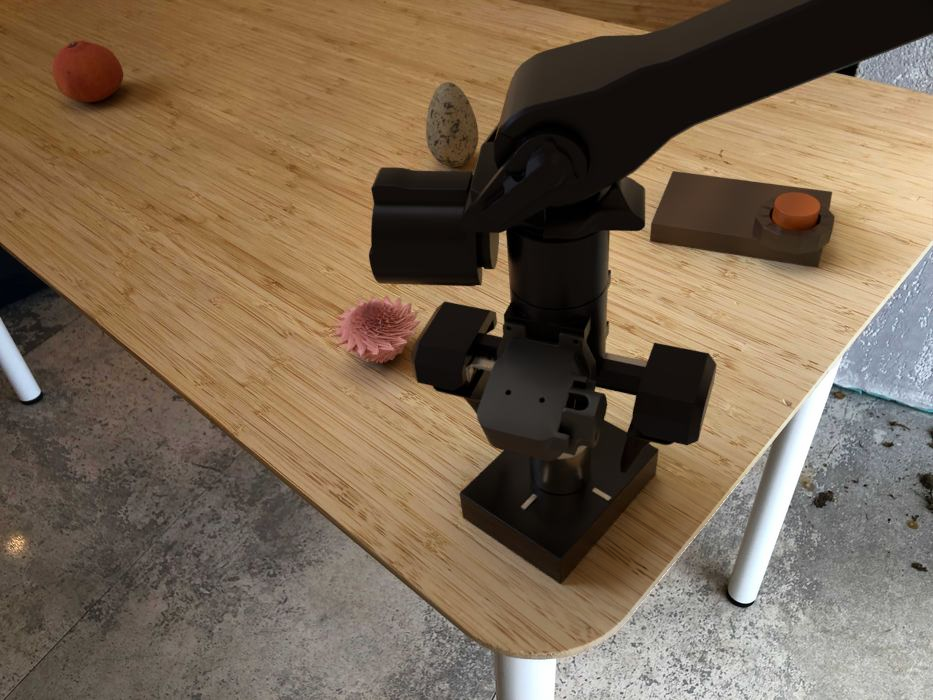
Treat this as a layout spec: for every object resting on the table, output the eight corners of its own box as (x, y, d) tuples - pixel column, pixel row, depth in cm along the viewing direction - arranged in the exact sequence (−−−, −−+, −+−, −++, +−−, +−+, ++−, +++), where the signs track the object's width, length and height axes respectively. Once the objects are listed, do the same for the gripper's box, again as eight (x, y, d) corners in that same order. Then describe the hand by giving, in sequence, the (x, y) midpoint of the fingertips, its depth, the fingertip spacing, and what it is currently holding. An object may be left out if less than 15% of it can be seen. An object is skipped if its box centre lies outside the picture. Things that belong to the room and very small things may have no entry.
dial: (554, 437, 64) (553, 398, 61) (603, 465, 61) (604, 426, 58) (517, 474, 61) (514, 435, 58) (566, 505, 59) (566, 466, 56)
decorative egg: (454, 145, 102) (445, 66, 96) (491, 160, 99) (485, 79, 92) (419, 167, 99) (408, 87, 93) (456, 182, 96) (447, 101, 89)
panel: (560, 421, 69) (560, 394, 67) (656, 474, 64) (659, 447, 62) (462, 517, 63) (458, 491, 61) (560, 584, 58) (560, 559, 56)
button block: (832, 210, 86) (841, 176, 84) (821, 277, 79) (830, 242, 76) (671, 188, 92) (674, 155, 89) (646, 249, 84) (648, 215, 82)
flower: (403, 393, 73) (393, 345, 69) (321, 374, 75) (308, 328, 71) (438, 333, 78) (431, 286, 74) (360, 318, 80) (350, 271, 77)
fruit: (52, 110, 119) (27, 55, 114) (92, 81, 125) (71, 27, 120) (102, 116, 116) (79, 60, 111) (141, 86, 122) (121, 32, 117)
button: (818, 211, 81) (822, 195, 79) (814, 234, 78) (818, 219, 77) (774, 205, 82) (777, 189, 81) (769, 228, 79) (772, 212, 78)
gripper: (353, 337, 47) (393, 506, 58) (693, 412, 41) (668, 586, 52) (433, 224, 54) (456, 393, 65) (732, 274, 48) (703, 451, 59)
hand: (560, 452), depth 60 cm, fingers open, 9 cm apart
